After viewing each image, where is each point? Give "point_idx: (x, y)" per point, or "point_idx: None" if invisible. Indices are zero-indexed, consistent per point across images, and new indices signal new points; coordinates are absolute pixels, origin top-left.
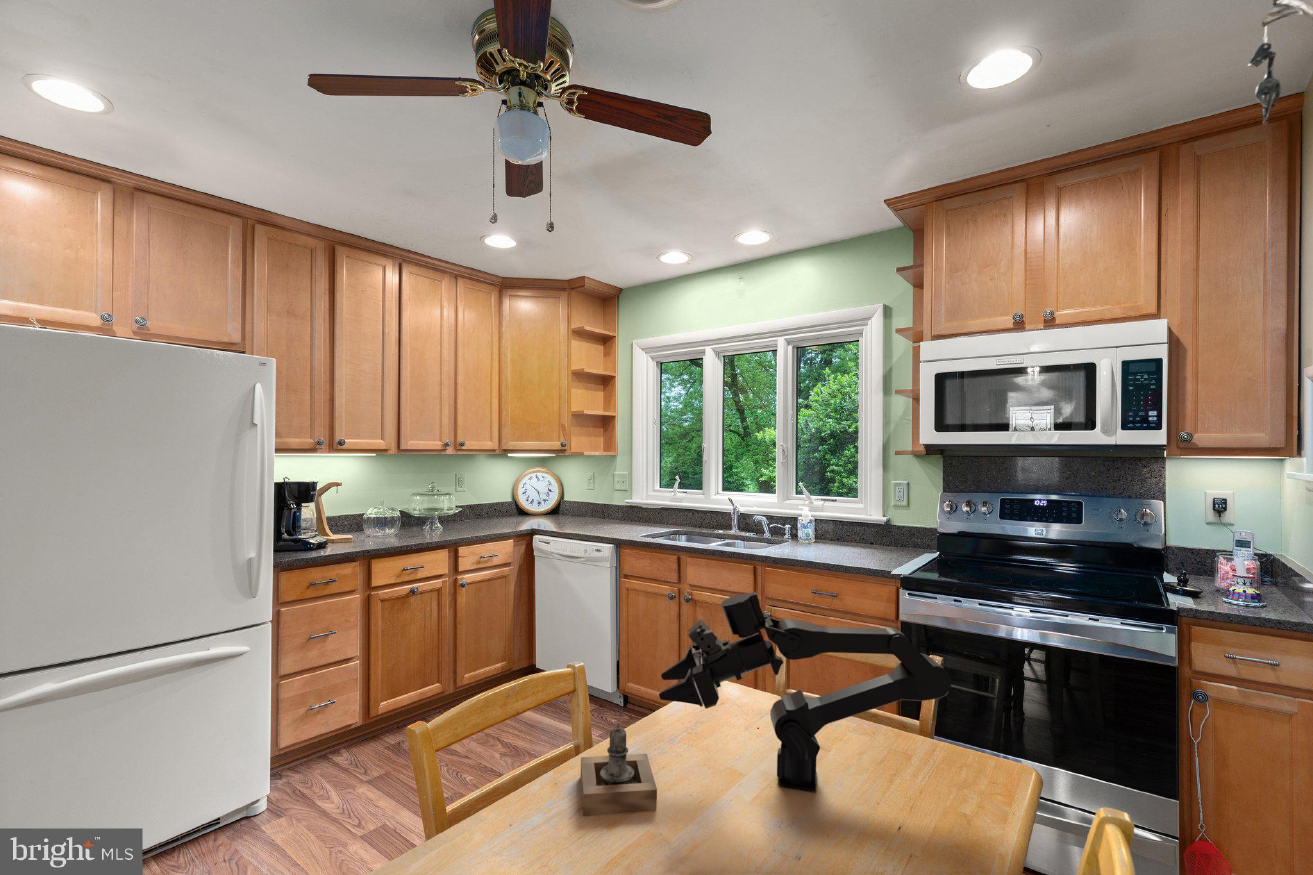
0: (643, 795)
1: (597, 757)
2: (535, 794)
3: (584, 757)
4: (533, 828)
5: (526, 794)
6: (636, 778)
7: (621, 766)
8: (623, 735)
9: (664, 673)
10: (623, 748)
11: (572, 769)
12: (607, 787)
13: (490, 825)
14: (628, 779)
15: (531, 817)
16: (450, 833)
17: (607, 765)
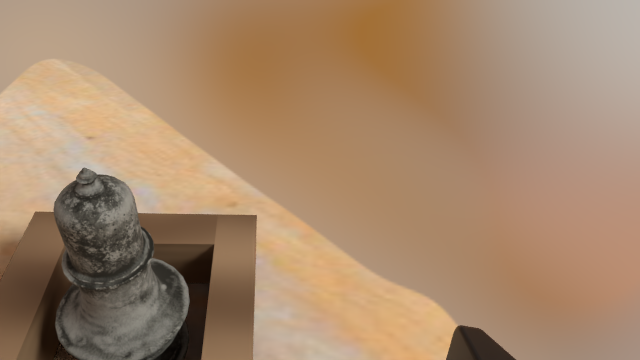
0: None
1: (246, 255)
2: (193, 170)
3: (253, 223)
4: (56, 167)
5: (197, 157)
6: None
7: (81, 294)
8: (56, 217)
9: (462, 348)
10: (70, 257)
11: (298, 238)
12: (39, 270)
13: (104, 115)
14: (59, 339)
15: (101, 164)
16: (105, 78)
17: (180, 278)
